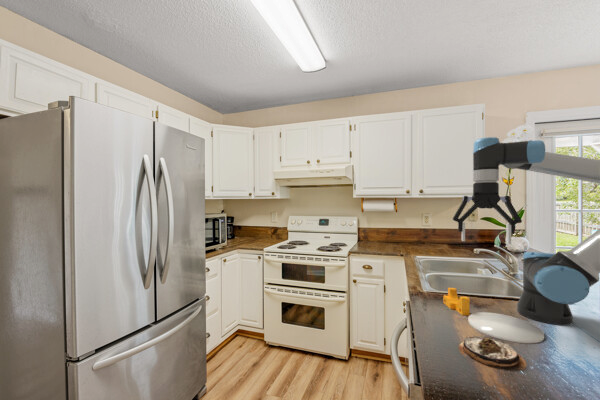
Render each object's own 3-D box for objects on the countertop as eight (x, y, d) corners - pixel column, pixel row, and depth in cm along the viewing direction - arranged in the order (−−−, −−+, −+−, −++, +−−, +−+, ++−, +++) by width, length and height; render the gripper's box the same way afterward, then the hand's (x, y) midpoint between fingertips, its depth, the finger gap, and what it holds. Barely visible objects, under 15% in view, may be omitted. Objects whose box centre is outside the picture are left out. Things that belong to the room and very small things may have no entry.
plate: (532, 322, 95) (532, 319, 95) (554, 351, 77) (555, 347, 77) (465, 311, 104) (465, 308, 104) (471, 335, 86) (471, 331, 86)
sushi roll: (532, 379, 64) (532, 361, 64) (459, 362, 72) (459, 346, 72) (519, 348, 77) (518, 333, 77) (458, 337, 84) (457, 323, 84)
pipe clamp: (443, 303, 113) (443, 287, 113) (454, 303, 112) (454, 287, 112) (457, 315, 101) (457, 298, 101) (469, 316, 100) (469, 298, 100)
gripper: (525, 182, 96) (524, 242, 96) (445, 183, 105) (444, 238, 106) (533, 180, 89) (533, 246, 89) (447, 182, 99) (446, 241, 99)
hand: (485, 242), depth 97 cm, fingers open, 13 cm apart
